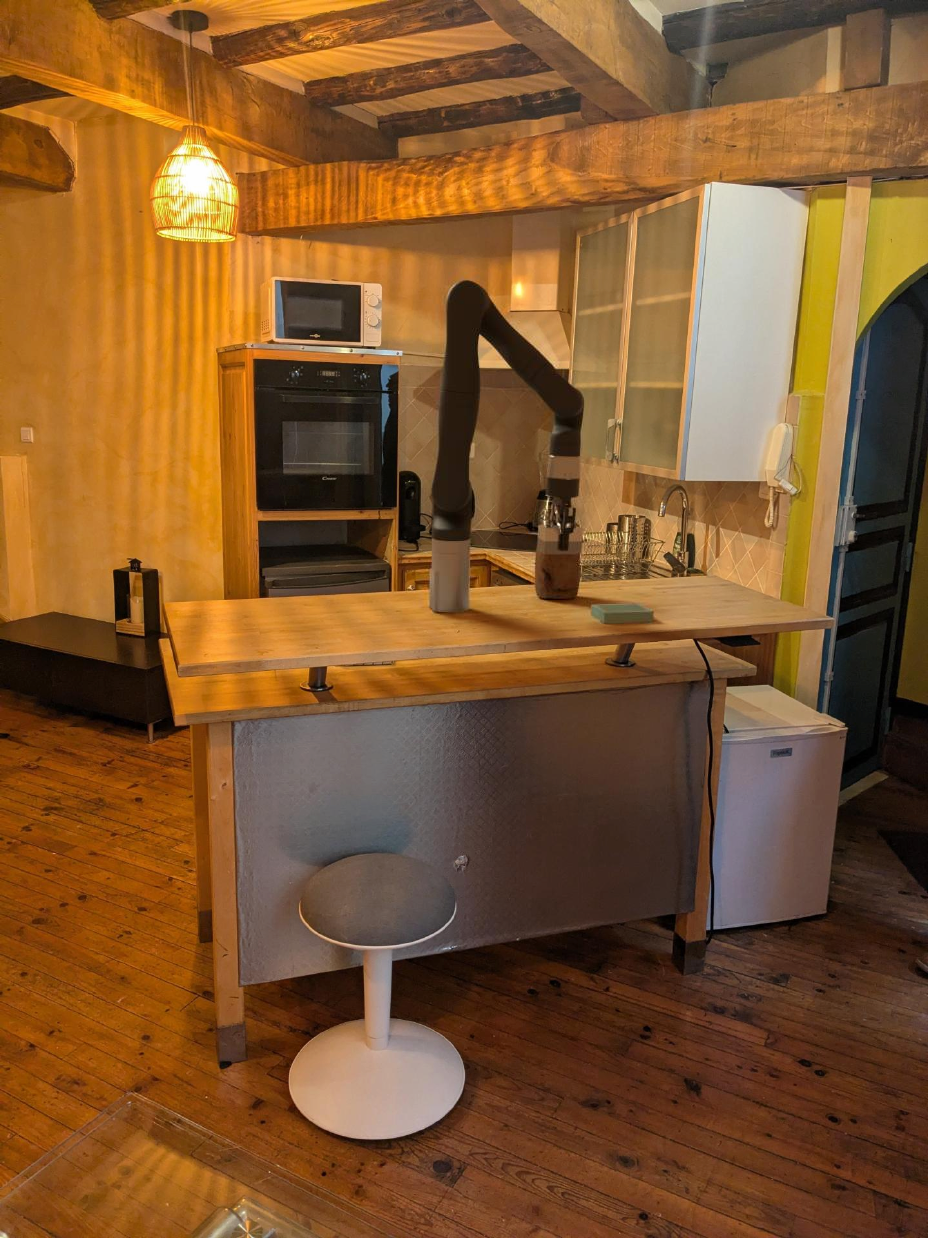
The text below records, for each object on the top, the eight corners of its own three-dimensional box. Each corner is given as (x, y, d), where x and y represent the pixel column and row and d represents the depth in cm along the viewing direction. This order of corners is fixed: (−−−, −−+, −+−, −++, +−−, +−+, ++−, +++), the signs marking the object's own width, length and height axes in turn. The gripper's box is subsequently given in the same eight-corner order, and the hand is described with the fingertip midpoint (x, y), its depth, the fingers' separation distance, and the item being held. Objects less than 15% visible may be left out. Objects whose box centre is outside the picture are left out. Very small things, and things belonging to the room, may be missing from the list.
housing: (544, 554, 218) (545, 525, 217) (537, 550, 224) (538, 522, 222) (581, 554, 221) (583, 525, 219) (573, 550, 226) (575, 522, 224)
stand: (604, 623, 218) (604, 612, 217) (590, 615, 226) (591, 604, 226) (653, 621, 220) (653, 611, 220) (638, 613, 229) (638, 603, 228)
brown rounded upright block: (569, 593, 251) (573, 518, 246) (581, 599, 244) (584, 522, 239) (531, 595, 248) (533, 519, 243) (541, 601, 241) (544, 522, 236)
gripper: (538, 472, 224) (535, 543, 228) (557, 478, 210) (553, 553, 214) (569, 473, 226) (564, 543, 230) (589, 478, 212) (584, 553, 216)
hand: (559, 548), depth 222 cm, fingers closed on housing, 5 cm apart
